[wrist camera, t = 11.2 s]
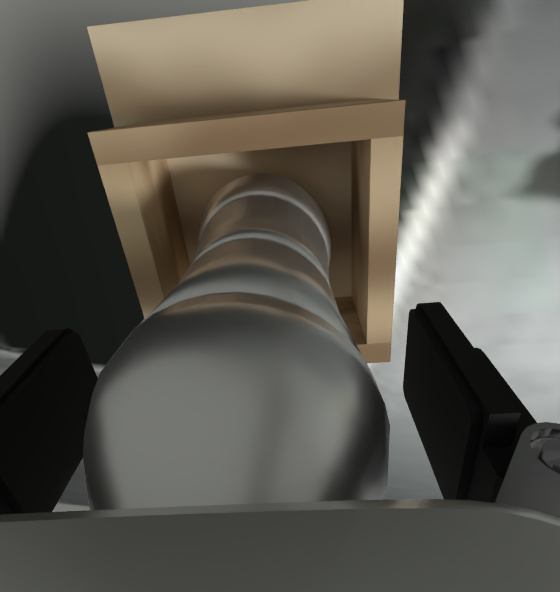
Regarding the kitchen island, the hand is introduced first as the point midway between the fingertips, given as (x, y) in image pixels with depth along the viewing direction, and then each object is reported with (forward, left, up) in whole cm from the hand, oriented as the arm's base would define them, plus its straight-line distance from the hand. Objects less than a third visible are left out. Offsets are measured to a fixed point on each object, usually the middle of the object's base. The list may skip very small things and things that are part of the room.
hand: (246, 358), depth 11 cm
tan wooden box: (0, 0, -13) cm, 13 cm away
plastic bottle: (0, 0, -12) cm, 12 cm away
